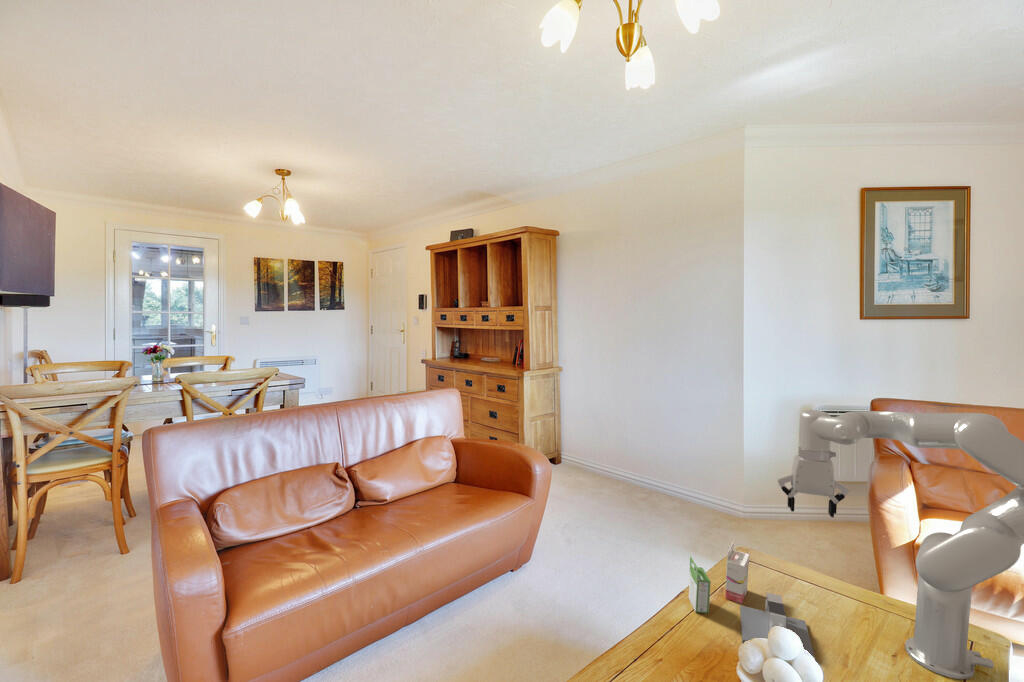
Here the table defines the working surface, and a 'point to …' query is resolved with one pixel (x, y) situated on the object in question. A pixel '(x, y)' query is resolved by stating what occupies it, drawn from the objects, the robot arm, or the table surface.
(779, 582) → the table surface
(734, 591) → the ink cartridge box
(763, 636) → the pin tray
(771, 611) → the block
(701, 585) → the ink box
